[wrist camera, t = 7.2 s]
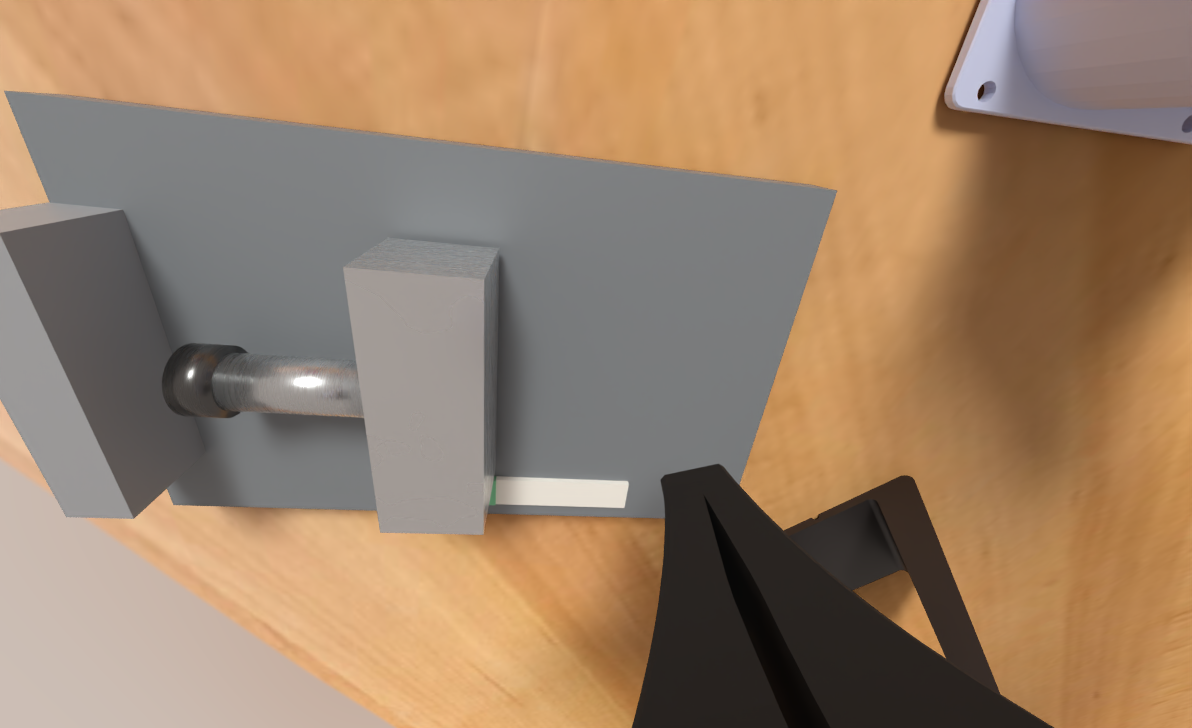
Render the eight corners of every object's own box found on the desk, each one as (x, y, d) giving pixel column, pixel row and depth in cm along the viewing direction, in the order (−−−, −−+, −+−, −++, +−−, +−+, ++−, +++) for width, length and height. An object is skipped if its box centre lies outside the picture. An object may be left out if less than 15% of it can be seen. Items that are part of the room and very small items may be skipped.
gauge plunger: (499, 248, 13) (484, 279, 10) (494, 511, 17) (483, 580, 15) (188, 218, 12) (83, 244, 9) (270, 505, 16) (214, 578, 14)
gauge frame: (811, 184, 14) (907, 207, 10) (716, 494, 20) (755, 584, 16) (64, 94, 12) (-181, 78, 8) (202, 476, 18) (100, 577, 14)
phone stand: (772, 616, 25) (932, 980, 14) (729, 555, 22) (883, 942, 12) (935, 547, 23) (1253, 901, 13) (908, 472, 21) (1278, 837, 10)
